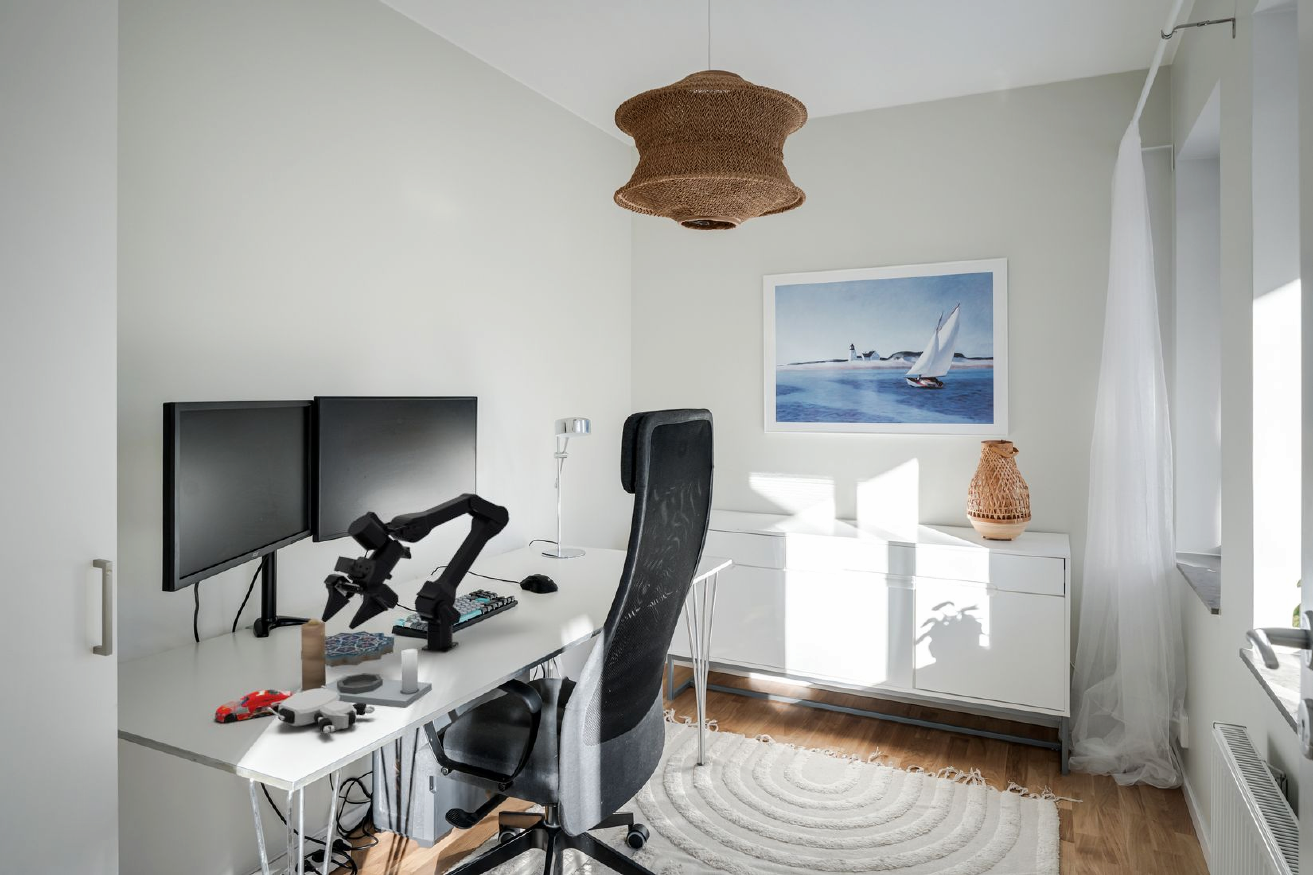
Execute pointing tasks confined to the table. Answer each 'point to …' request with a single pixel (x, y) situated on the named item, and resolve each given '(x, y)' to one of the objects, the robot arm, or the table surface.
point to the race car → (252, 705)
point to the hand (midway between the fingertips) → (336, 624)
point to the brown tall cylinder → (313, 655)
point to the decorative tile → (356, 648)
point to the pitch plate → (383, 685)
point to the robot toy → (320, 710)
